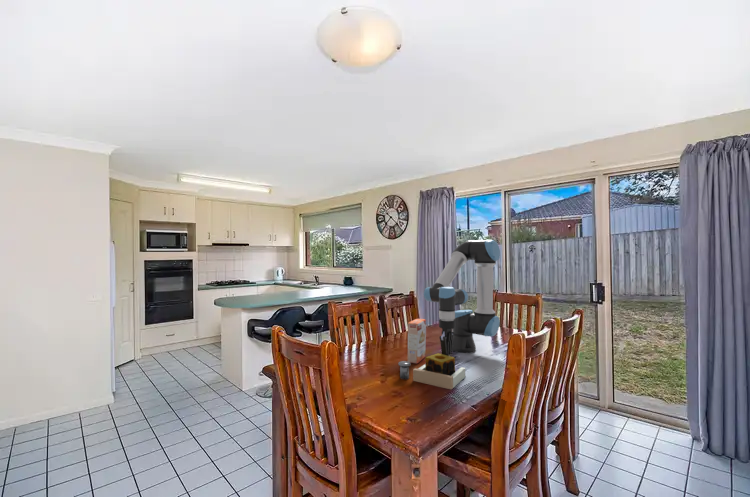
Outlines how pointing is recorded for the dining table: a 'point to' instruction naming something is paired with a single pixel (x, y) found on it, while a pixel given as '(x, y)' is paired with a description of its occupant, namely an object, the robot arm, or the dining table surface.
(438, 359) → the candle
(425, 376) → the bay
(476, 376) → the dining table surface
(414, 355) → the cracker box
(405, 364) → the mushroom drawer knob
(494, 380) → the dining table surface
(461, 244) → the robot arm
